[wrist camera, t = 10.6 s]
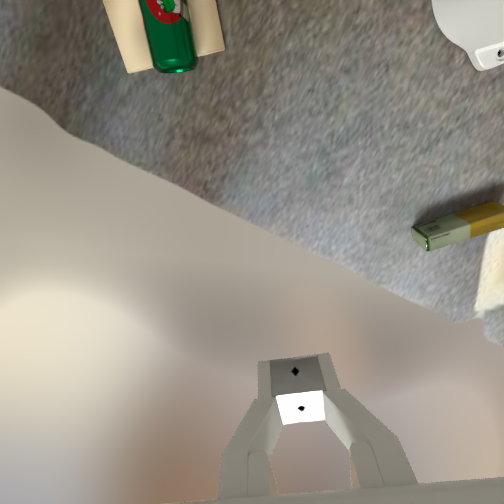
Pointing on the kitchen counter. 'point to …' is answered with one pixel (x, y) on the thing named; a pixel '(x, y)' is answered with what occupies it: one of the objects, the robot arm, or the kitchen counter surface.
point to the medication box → (459, 226)
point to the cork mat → (134, 40)
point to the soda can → (169, 34)
